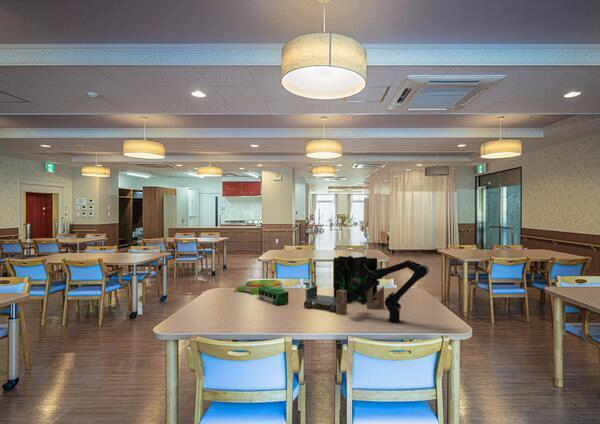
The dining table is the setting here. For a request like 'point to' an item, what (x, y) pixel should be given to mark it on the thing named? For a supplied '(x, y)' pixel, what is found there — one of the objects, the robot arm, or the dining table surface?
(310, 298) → the trolley
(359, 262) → the decorative plant
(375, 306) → the wooden block
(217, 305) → the dining table surface
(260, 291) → the toy bus
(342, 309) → the brown rectangular pillar
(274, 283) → the green piece
